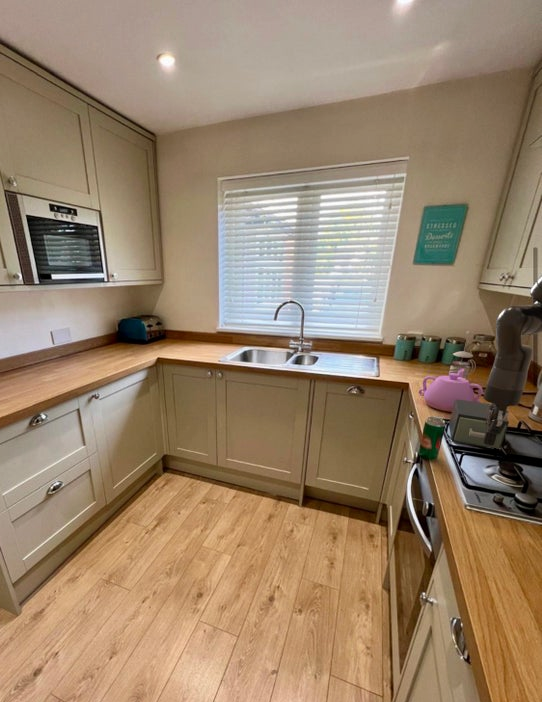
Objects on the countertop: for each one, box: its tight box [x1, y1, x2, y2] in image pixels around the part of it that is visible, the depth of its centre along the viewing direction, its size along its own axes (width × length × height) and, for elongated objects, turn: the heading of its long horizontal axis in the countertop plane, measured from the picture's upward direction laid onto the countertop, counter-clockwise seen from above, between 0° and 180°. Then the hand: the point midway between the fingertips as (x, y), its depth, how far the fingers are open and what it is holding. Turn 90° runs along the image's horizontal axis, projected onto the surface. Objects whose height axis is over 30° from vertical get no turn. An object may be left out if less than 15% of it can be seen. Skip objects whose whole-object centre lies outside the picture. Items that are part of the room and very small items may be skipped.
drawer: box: [454, 417, 506, 449], centre depth 104 cm, size 18×11×8 cm, turn 151°
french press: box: [448, 330, 477, 380], centre depth 158 cm, size 10×12×25 cm
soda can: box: [417, 416, 447, 461], centre depth 95 cm, size 5×5×12 cm
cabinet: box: [448, 399, 510, 450], centre depth 107 cm, size 15×13×10 cm
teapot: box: [418, 368, 484, 413], centre depth 132 cm, size 22×22×14 cm
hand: (488, 443), depth 92 cm, fingers closed
